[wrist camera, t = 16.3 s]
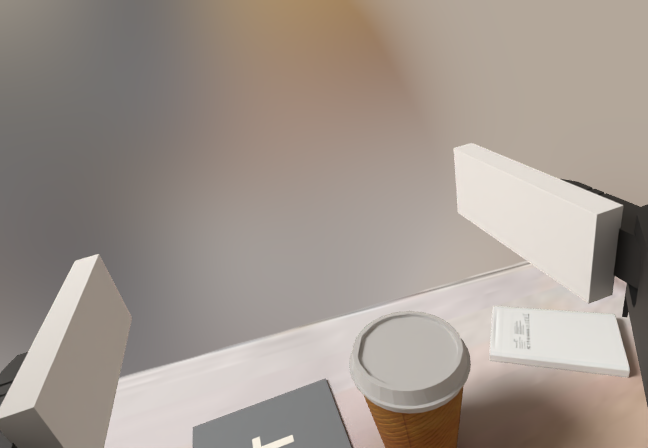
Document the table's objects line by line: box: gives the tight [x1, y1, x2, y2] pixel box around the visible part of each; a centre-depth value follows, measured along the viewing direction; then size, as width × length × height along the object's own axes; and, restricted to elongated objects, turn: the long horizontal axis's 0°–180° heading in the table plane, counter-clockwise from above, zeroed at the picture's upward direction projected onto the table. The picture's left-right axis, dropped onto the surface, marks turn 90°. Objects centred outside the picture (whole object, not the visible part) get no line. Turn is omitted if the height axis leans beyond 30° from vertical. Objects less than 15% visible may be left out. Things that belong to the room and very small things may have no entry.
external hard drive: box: [489, 306, 630, 378], centre depth 47 cm, size 2×8×12 cm
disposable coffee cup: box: [349, 311, 471, 448], centre depth 37 cm, size 10×10×12 cm
